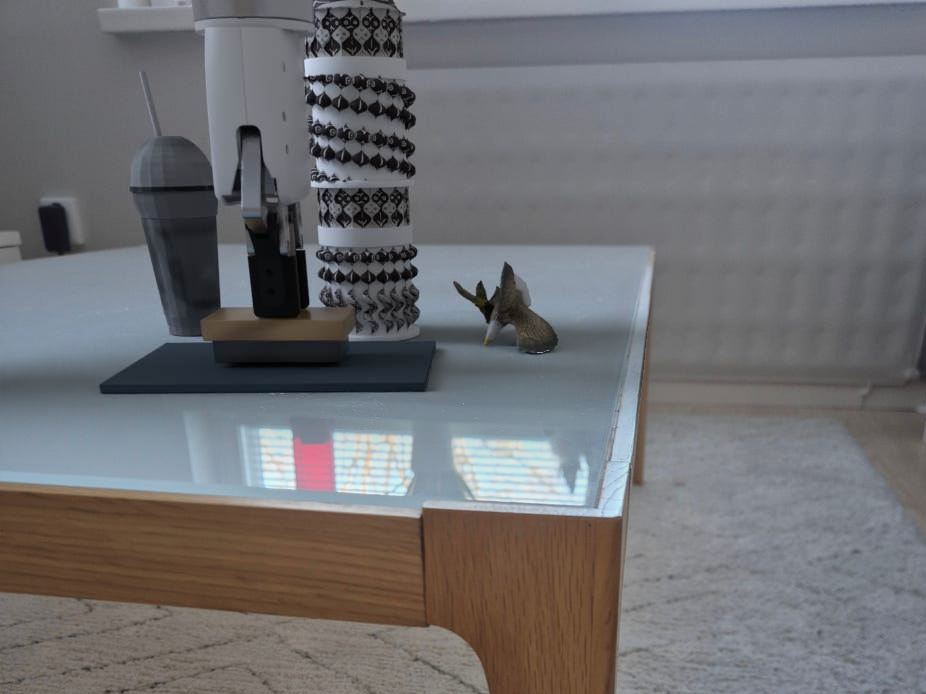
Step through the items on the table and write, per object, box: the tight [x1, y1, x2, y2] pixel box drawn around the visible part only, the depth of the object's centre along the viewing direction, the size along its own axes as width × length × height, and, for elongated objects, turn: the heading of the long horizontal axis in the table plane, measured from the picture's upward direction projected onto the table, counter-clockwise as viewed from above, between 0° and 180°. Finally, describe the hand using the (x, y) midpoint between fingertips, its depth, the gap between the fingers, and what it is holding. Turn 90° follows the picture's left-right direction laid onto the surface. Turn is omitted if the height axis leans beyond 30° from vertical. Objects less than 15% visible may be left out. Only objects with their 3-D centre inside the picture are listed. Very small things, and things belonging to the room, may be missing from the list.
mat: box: [98, 340, 437, 394], centre depth 70 cm, size 22×15×1 cm
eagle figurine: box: [452, 261, 559, 354], centre depth 76 cm, size 8×7×9 cm
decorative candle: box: [303, 0, 421, 341], centre depth 76 cm, size 9×9×25 cm
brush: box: [200, 222, 355, 363], centre depth 67 cm, size 10×6×9 cm, turn 90°
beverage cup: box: [129, 70, 222, 337], centre depth 80 cm, size 7×7×20 cm
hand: (282, 309), depth 68 cm, fingers closed on brush, 3 cm apart
